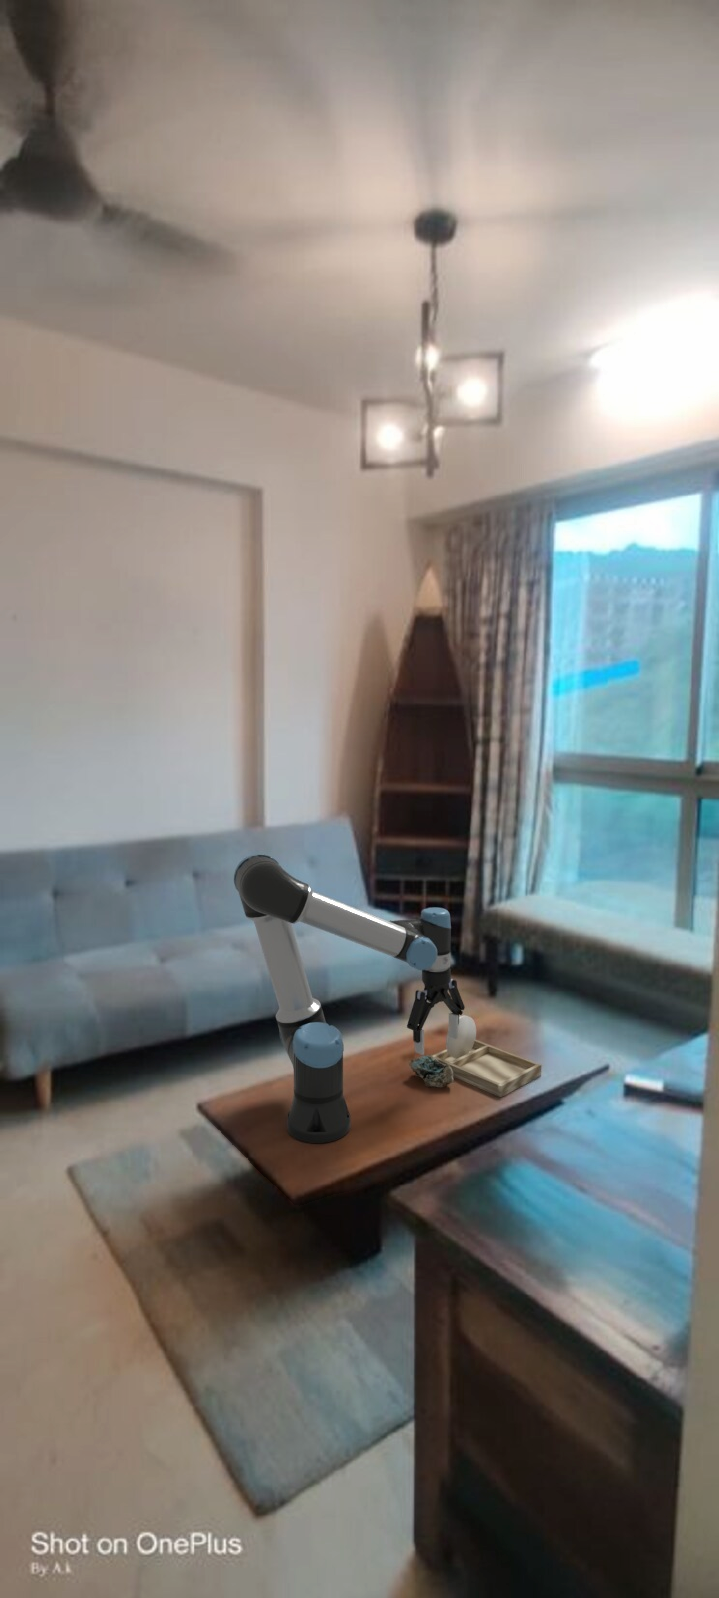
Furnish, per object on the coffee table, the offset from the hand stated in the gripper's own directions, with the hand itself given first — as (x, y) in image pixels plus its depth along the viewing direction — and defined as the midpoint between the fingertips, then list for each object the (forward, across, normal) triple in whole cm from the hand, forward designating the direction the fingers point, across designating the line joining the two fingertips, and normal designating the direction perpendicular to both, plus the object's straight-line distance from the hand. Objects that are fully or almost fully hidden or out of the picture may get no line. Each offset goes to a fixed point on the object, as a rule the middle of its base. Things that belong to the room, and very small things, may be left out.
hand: (436, 1045), depth 209 cm
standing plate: (+10, +14, +4) cm, 18 cm away
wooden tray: (+10, +14, -5) cm, 19 cm away
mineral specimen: (+10, -1, +1) cm, 11 cm away
